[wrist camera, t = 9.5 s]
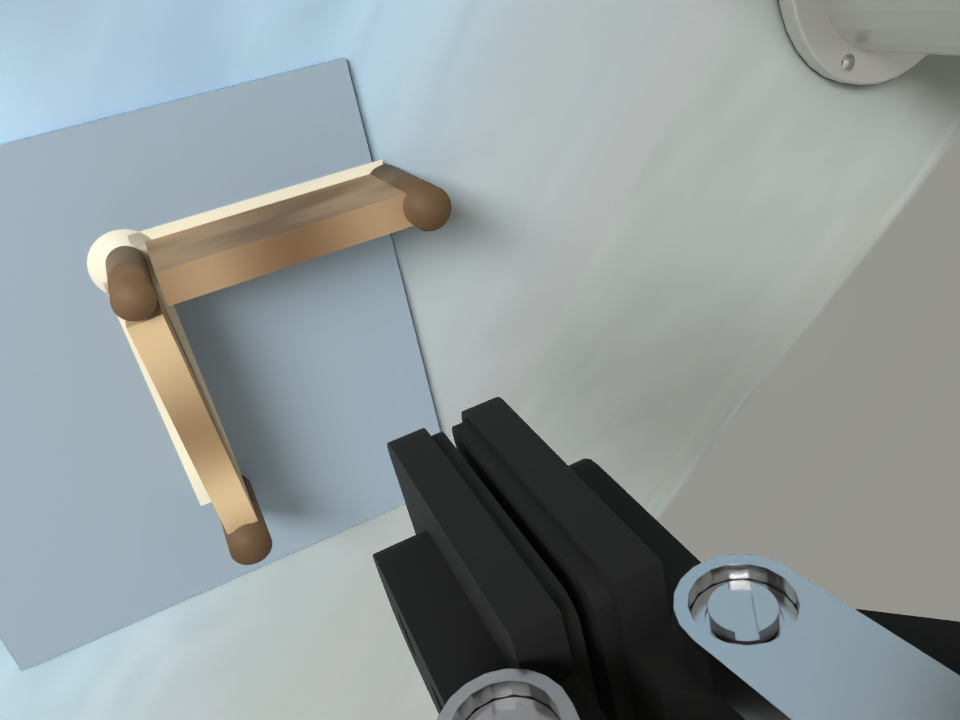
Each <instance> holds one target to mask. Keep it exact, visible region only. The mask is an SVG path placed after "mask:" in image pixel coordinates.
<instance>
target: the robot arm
mask: <svg viewBox="0 0 960 720" xmlns="http://www.w3.org/2000/svg"><path fill="white" fill-rule="evenodd" d="M779 4H780V9H781V13H782V16H783V20H784V23H785V27H786V30H787V32H788V34H789V36H790V38H791V40H792V42H793V44H794V46H795V48H796V50H797V51H798V53H799V54H800V55H801V56H802V58H803V59H804V60H805V61H806V63H807V64H808V65H809V66H810V67H811V68H813V69H814V70H815V71H817V72H818V73H819V74H821V75H822V76H823V77H826V78H829V79H831V80H834V81H837V82H839V83H849V84H858V85H866V84H879V83H882V82H885V81H888V80H891V79H894V78H896V77H898V76H899V75H901V74H903V73H905V72H906V71H908V70H910V69H911V68H913V67H914V66H915V65H916V64H917V63H919V62H920V61H921V60H922V59H923V58H924V57H925V56H927V55H928V54H930V55H952V56H960V0H779ZM462 422H463V423H460V424H458V425H456V426H453V427H452V432H453V437H454V440H455V444H456V447H457V449H456V448H455V446H454V445H453V444H452V442H451V441H450V440H449V439H448V437H447V436H446V435H445V434H444V433H443V432H439V433H437V434H434V435H432V436H431V435H430V434H429V432H428V431H427V430H426V429H425V428H422V429H419V430H417V431H414V432H412V433H410V434H407V435H405V436H402V437H400V438H398V439H395V440H393V441H390V442H388V443H387V448H388V452H389V455H390V458H391V461H392V464H393V467H394V470H395V473H396V476H397V479H398V482H399V485H400V488H401V491H402V494H403V497H404V500H405V503H406V506H407V509H408V512H409V515H410V518H411V521H412V524H413V527H414V530H415V533H416V535H415V536H413V537H410V538H408V539H406V540H404V541H402V542H399V543H397V544H395V545H393V546H391V547H388V548H386V549H384V550H382V551H380V552H377V553H375V554H373V558H374V561H375V564H376V567H377V569H378V572H379V575H380V578H381V580H382V583H383V586H384V588H385V591H386V594H387V596H388V599H389V601H390V604H391V607H392V609H393V612H394V614H395V617H396V619H397V621H398V624H399V626H400V629H401V631H402V633H403V636H404V638H405V640H406V643H407V645H408V647H409V650H410V652H411V654H412V656H413V659H414V661H415V663H416V665H417V667H418V669H419V672H420V674H421V676H422V678H423V680H424V682H425V685H426V687H427V689H428V691H429V693H430V696H431V698H432V700H433V702H434V704H435V706H436V709H437V711H438V713H439V715H438V718H437V720H960V622H957V621H949V620H941V619H933V618H925V617H916V616H908V615H900V614H892V613H884V612H876V611H868V610H859V609H854V608H852V607H851V606H849V605H847V604H846V603H844V602H843V601H841V600H839V599H838V598H836V597H835V596H833V595H832V594H830V593H828V592H827V591H825V590H824V589H822V588H821V587H819V586H817V585H816V584H814V583H813V582H811V581H810V580H808V579H806V578H805V577H803V576H802V575H800V574H798V573H797V572H795V571H794V570H792V569H791V568H789V567H787V566H785V565H782V564H780V563H778V562H776V561H774V560H772V559H769V558H764V557H759V556H755V555H751V554H750V555H749V554H745V555H743V554H742V555H741V554H731V555H730V554H729V555H725V556H720V557H715V558H711V559H708V560H706V561H704V562H703V563H701V562H700V561H699V560H698V559H697V558H696V557H694V556H693V555H692V554H691V553H690V552H689V551H688V550H687V549H686V548H685V547H684V546H683V545H682V544H681V543H680V542H679V541H678V540H677V539H676V538H674V537H673V536H672V535H671V534H670V533H669V532H668V531H667V530H666V529H665V528H664V527H663V526H662V525H661V524H660V523H659V522H658V521H657V520H655V519H654V518H653V517H652V516H651V515H650V514H649V513H648V512H647V511H646V510H645V509H644V508H643V507H642V506H641V505H640V504H639V503H638V502H637V501H635V500H634V499H633V498H632V497H631V496H630V495H629V494H628V493H627V492H626V491H625V490H624V489H623V488H622V487H621V486H620V485H619V484H618V483H616V482H615V481H614V480H613V479H612V478H611V477H610V476H609V475H608V474H607V473H606V472H605V471H604V470H603V469H602V468H601V467H600V466H599V465H597V464H596V463H595V462H593V461H592V460H591V459H583V460H580V461H578V462H576V463H574V464H572V465H569V466H568V465H567V464H566V463H565V462H564V461H563V460H562V459H561V458H560V457H559V456H558V455H557V454H556V453H555V452H554V451H553V450H552V449H551V448H550V447H549V446H548V445H547V444H546V443H545V442H544V441H543V440H542V439H541V438H540V437H539V436H538V435H537V434H536V433H535V432H534V431H533V430H532V429H531V428H530V427H529V426H528V425H527V424H526V423H525V422H524V421H523V420H522V419H521V418H520V417H519V416H518V415H517V414H516V413H515V412H514V411H513V410H512V409H511V408H510V407H509V405H508V404H507V403H506V402H505V401H504V400H503V399H501V398H500V397H496V398H493V399H491V400H488V401H486V402H484V403H481V404H479V405H477V406H474V407H472V408H469V409H467V410H465V411H462Z"/></svg>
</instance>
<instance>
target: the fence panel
mask: <svg viewBox="0 0 960 720" xmlns="http://www.w3.org/2000/svg"><path fill="white" fill-rule="evenodd" d="M153 285H154V283H153ZM154 289H155V292H156V296H157V306H156V309H155V311H154V312H153V313H152V314H151V315H150V316H149V317H148V318H146V319H144V320H141V321H134V322H133V321H126V320H125V323H126V328H127V330H128V333H129V335H130V337H131V339H132V341H133V343H134V345H135V347H136V349H137V351H138V353H139V355H140V357H141V359H142V361H143V363H144V365H145V367H146V369H147V371H148V373H149V375H150V377H151V379H152V381H153V383H154V385H155V388H156V390H157V392H158V394H159V396H160V398H161V400H162V402H163V404H164V406H165V408H166V410H167V412H168V414H169V416H170V418H171V420H172V422H173V424H174V426H175V428H176V430H177V432H178V434H179V436H180V438H181V441H182V443H183V445H184V447H185V449H186V451H187V453H188V455H189V457H190V459H191V461H192V463H193V465H194V467H195V469H196V471H197V473H198V475H199V477H200V479H201V481H202V483H203V485H204V487H205V489H206V491H207V493H208V496H209V498H210V500H211V502H212V504H213V506H214V508H215V510H216V512H217V514H218V516H219V518H220V521H221V524H222V528H223V531H224V534H225V538H226V541H227V545H228V548H229V552H230V555H231V557H232V559H233V560H234V561H235V562H237V563H239V564H242V565H252V564H256V563H258V562H260V561H262V560H263V559H265V558H266V557H267V556H268V554H269V553H270V551H271V549H272V539H271V536H270V533H269V530H268V528H267V525H266V522H265V520H264V517H263V514H262V512H261V509H260V506H259V504H258V501H257V498H256V496H255V493H254V490H253V488H252V485H251V483H250V481H249V480H248V478H246V477H245V476H243V475H241V473H240V470H239V468H238V466H237V464H236V462H235V459H234V457H233V455H232V453H231V451H230V448H229V446H228V444H227V442H226V440H225V438H224V435H223V433H222V431H221V429H220V427H219V424H218V422H217V420H216V418H215V416H214V414H213V411H212V409H211V407H210V405H209V403H208V400H207V398H206V396H205V394H204V392H203V390H202V387H201V385H200V383H199V381H198V379H197V377H196V374H195V372H194V370H193V368H192V366H191V363H190V361H189V359H188V357H187V355H186V353H185V350H184V348H183V346H182V344H181V342H180V339H179V337H178V335H177V333H176V331H175V329H174V326H173V324H172V322H171V320H170V318H169V315H168V313H167V311H166V309H165V307H164V305H163V302H162V300H161V298H160V296H159V294H158V291H157V289H156V287H155V285H154Z"/></svg>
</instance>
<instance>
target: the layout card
mask: <svg viewBox="0 0 960 720" xmlns="http://www.w3.org/2000/svg"><path fill="white" fill-rule="evenodd" d="M380 165H383V162H382V160H378V161H375V162H372V160H371V156H370V152H369V148H368V144H367V140H366V136H365V132H364V128H363V125H362V121H361V117H360V113H359V109H358V105H357V101H356V97H355V93H354V89H353V85H352V81H351V77H350V73H349V69H348V65H347V61H346V58H340V59H336V60H332V61H328V62H324V63H320V64H316V65H312V66H309V67H305V68H301V69H297V70H293V71H289V72H285V73H281V74H277V75H273V76H269V77H265V78H261V79H257V80H253V81H249V82H245V83H242V84H238V85H234V86H230V87H226V88H222V89H218V90H214V91H210V92H206V93H202V94H198V95H194V96H190V97H186V98H182V99H178V100H175V101H171V102H167V103H163V104H159V105H155V106H151V107H147V108H143V109H139V110H135V111H131V112H127V113H123V114H119V115H115V116H111V117H107V118H104V119H100V120H96V121H92V122H88V123H84V124H80V125H76V126H72V127H68V128H64V129H60V130H56V131H52V132H48V133H44V134H40V135H37V136H33V137H29V138H25V139H21V140H17V141H13V142H9V143H5V144H1V145H0V639H1V640H2V642H3V643H4V645H5V647H6V648H7V650H8V651H9V653H10V654H11V656H12V657H13V659H14V660H15V662H16V663H17V665H18V667H19V668H20V670H21V671H24V670H26V669H28V668H30V667H33V666H35V665H37V664H40V663H42V662H44V661H46V660H49V659H51V658H53V657H56V656H58V655H60V654H62V653H65V652H67V651H69V650H71V649H74V648H76V647H78V646H81V645H83V644H85V643H87V642H90V641H92V640H94V639H97V638H99V637H101V636H103V635H106V634H108V633H110V632H113V631H115V630H117V629H119V628H122V627H124V626H126V625H129V624H131V623H133V622H135V621H138V620H140V619H142V618H145V617H147V616H149V615H151V614H154V613H156V612H158V611H161V610H163V609H165V608H167V607H170V606H172V605H174V604H177V603H179V602H181V601H183V600H186V599H188V598H190V597H193V596H195V595H197V594H199V593H202V592H204V591H206V590H209V589H211V588H213V587H215V586H218V585H220V584H222V583H225V582H227V581H229V580H231V579H234V578H236V577H238V576H241V575H243V574H245V573H247V572H250V571H252V570H254V569H257V568H259V567H261V566H263V565H266V564H268V563H270V562H273V561H275V560H277V559H279V558H282V557H284V556H286V555H289V554H291V553H293V552H295V551H298V550H300V549H302V548H305V547H307V546H309V545H311V544H314V543H316V542H318V541H321V540H323V539H325V538H327V537H330V536H332V535H334V534H337V533H339V532H341V531H343V530H346V529H348V528H350V527H353V526H355V525H357V524H359V523H362V522H364V521H366V520H369V519H371V518H373V517H375V516H378V515H380V514H382V513H385V512H387V511H389V510H391V509H394V508H396V507H398V506H401V505H403V504H405V500H404V497H403V494H402V491H401V488H400V485H399V482H398V479H397V476H396V473H395V470H394V467H393V464H392V461H391V458H390V455H389V452H388V448H387V443H388V442H390V441H393V440H395V439H398V438H400V437H402V436H405V435H407V434H410V433H412V432H414V431H417V430H419V429H422V428H425V429H426V430H427V431H428V432H429V434H430V435H431V436H432V435H434V434H437V433H439V432H440V429H439V425H438V421H437V417H436V413H435V409H434V405H433V401H432V397H431V393H430V389H429V385H428V381H427V377H426V373H425V369H424V365H423V361H422V357H421V354H420V350H419V346H418V342H417V338H416V334H415V330H414V326H413V322H412V318H411V314H410V310H409V306H408V302H407V298H406V294H405V290H404V286H403V282H402V279H401V275H400V271H399V267H398V263H397V259H396V255H395V251H394V247H393V243H392V239H391V235H390V234H388V235H385V236H381V237H378V238H375V239H372V240H369V241H366V242H363V243H360V244H357V245H354V246H351V247H348V248H345V249H342V250H339V251H336V252H333V253H330V254H327V255H324V256H321V257H318V258H314V259H311V260H308V261H305V262H302V263H299V264H296V265H293V266H290V267H287V268H284V269H281V270H278V271H275V272H272V273H269V274H266V275H263V276H260V277H257V278H254V279H250V280H247V281H244V282H241V283H238V284H235V285H232V286H229V287H226V288H223V289H220V290H217V291H214V292H211V293H208V294H205V295H202V296H199V297H196V298H193V299H190V300H186V301H183V302H180V303H177V304H174V305H171V306H168V305H167V302H166V300H165V297H164V295H163V292H162V290H161V287H160V285H159V283H158V280H157V278H156V275H155V273H154V269H153V266H152V263H151V260H150V256H149V253H148V250H147V247H146V243H145V242H146V241H149V240H152V239H156V238H159V237H162V236H166V235H169V234H172V233H176V232H179V231H182V230H186V229H189V228H192V227H195V226H199V225H202V224H205V223H209V222H212V221H215V220H219V219H222V218H225V217H229V216H232V215H235V214H239V213H242V212H245V211H248V210H252V209H255V208H258V207H262V206H265V205H268V204H272V203H275V202H278V201H282V200H285V199H288V198H292V197H295V196H298V195H301V194H305V193H308V192H311V191H315V190H318V189H321V188H325V187H328V186H331V185H335V184H338V183H341V182H344V181H348V180H351V179H354V178H358V177H361V176H364V175H368V174H370V173H371V171H372V170H373V169H375V168H376V167H378V166H380ZM120 246H131V247H134V248H136V249H138V250H139V251H141V252H142V253H143V255H144V256H145V258H146V261H147V265H148V268H149V271H150V275H151V278H152V282H153V283H154V285H155V287H156V289H157V291H158V294H159V296H160V298H161V300H162V302H163V305H164V307H165V309H166V311H167V313H168V315H169V318H170V320H171V322H172V324H173V326H174V329H175V331H176V333H177V335H178V337H179V339H180V342H181V344H182V346H183V348H184V350H185V353H186V355H187V357H188V359H189V361H190V363H191V366H192V368H193V370H194V372H195V374H196V377H197V379H198V381H199V383H200V385H201V387H202V390H203V392H204V394H205V396H206V398H207V400H208V403H209V405H210V407H211V409H212V411H213V414H214V416H215V418H216V420H217V422H218V424H219V427H220V429H221V431H222V433H223V435H224V438H225V440H226V442H227V444H228V446H229V448H230V451H231V453H232V455H233V457H234V459H235V462H236V464H237V466H238V468H239V470H240V473H241V475H243V476H245V477H246V478H248V480H249V481H250V483H251V485H252V488H253V490H254V493H255V496H256V498H257V501H258V504H259V506H260V509H261V512H262V514H263V517H264V520H265V522H266V525H267V528H268V530H269V533H270V536H271V539H272V549H271V551H270V553H269V554H268V556H267V557H266V558H265V559H263V560H262V561H260V562H258V563H256V564H252V565H242V564H239V563H237V562H235V561H234V560H233V559H232V557H231V555H230V552H229V548H228V545H227V541H226V538H225V534H224V531H223V528H222V524H221V521H220V518H219V516H218V514H217V512H216V510H215V508H214V506H213V504H212V502H211V500H210V498H209V496H208V493H207V491H206V489H205V487H204V485H203V483H202V481H201V479H200V477H199V475H198V473H197V471H196V469H195V467H194V465H193V463H192V461H191V459H190V457H189V455H188V453H187V451H186V449H185V447H184V445H183V443H182V441H181V438H180V436H179V434H178V432H177V430H176V428H175V426H174V424H173V422H172V420H171V418H170V416H169V414H168V412H167V410H166V408H165V406H164V404H163V402H162V400H161V398H160V396H159V394H158V392H157V390H156V388H155V385H154V383H153V381H152V379H151V377H150V375H149V373H148V371H147V369H146V367H145V365H144V363H143V361H142V359H141V357H140V355H139V353H138V351H137V349H136V347H135V345H134V343H133V341H132V339H131V337H130V335H129V333H128V330H127V328H126V323H125V320H124V319H121V318H120V317H118V316H117V315H116V314H115V313H114V312H113V310H112V308H111V305H110V299H109V291H108V282H107V274H106V265H105V262H106V258H107V256H108V254H109V253H110V252H111V251H112V250H113V249H115V248H117V247H120Z"/></svg>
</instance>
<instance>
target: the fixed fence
mask: <svg viewBox="0 0 960 720" xmlns="http://www.w3.org/2000/svg"><path fill="white" fill-rule="evenodd" d="M450 212H451V202H450V199H449V197H448V195H447V194H446V192H445V191H444V190H442V189H441V188H439V187H436V186H434V185H432V184H430V183H428V182H426V181H424V180H422V179H419V178H417V177H415V176H413V175H411V174H409V173H407V172H405V171H402V170H400V169H398V168H396V167H394V166H392V165H388V164H383V165H380V166H378V167H376V168H375V169H373V170H372V171H371V173H370V174H368V175H364V176H361V177H358V178H354V179H351V180H348V181H344V182H341V183H338V184H335V185H331V186H328V187H325V188H321V189H318V190H315V191H311V192H308V193H305V194H301V195H298V196H295V197H292V198H288V199H285V200H282V201H278V202H275V203H272V204H268V205H265V206H262V207H258V208H255V209H252V210H248V211H245V212H242V213H239V214H235V215H232V216H229V217H225V218H222V219H219V220H215V221H212V222H209V223H205V224H202V225H199V226H195V227H192V228H189V229H186V230H182V231H179V232H176V233H172V234H169V235H166V236H162V237H159V238H156V239H152V240H149V241H146V242H145V243H146V247H147V250H148V253H149V256H150V260H151V263H152V266H153V269H154V273H155V275H156V278H157V280H158V283H159V285H160V287H161V290H162V292H163V295H164V297H165V300H166V302H167V305H168V306H171V305H174V304H177V303H180V302H183V301H186V300H190V299H193V298H196V297H199V296H202V295H205V294H208V293H211V292H214V291H217V290H220V289H223V288H226V287H229V286H232V285H235V284H238V283H241V282H244V281H247V280H250V279H254V278H257V277H260V276H263V275H266V274H269V273H272V272H275V271H278V270H281V269H284V268H287V267H290V266H293V265H296V264H299V263H302V262H305V261H308V260H311V259H314V258H318V257H321V256H324V255H327V254H330V253H333V252H336V251H339V250H342V249H345V248H348V247H351V246H354V245H357V244H360V243H363V242H366V241H369V240H372V239H375V238H378V237H381V236H385V235H388V234H391V233H394V232H397V231H400V230H403V229H406V228H409V227H412V226H416V227H417V228H419V229H421V230H423V231H434V230H437V229H439V228H440V227H442V226H443V225H444V224H445V223H446V221H447V220H448V218H449V216H450ZM105 265H106V274H107V282H108V291H109V299H110V305H111V308H112V310H113V312H114V313H115V314H116V315H117V316H118V317H120V318H121V319H124V320H126V321H133V322H134V321H141V320H144V319H146V318H148V317H149V316H150V315H151V314H152V313H153V312H154V311H155V309H156V306H157V296H156V292H155V289H154V285H153V282H152V278H151V275H150V271H149V268H148V265H147V261H146V258H145V256H144V255H143V253H142V252H141V251H139V250H138V249H136V248H134V247H131V246H120V247H117V248H115V249H113V250H112V251H111V252H110V253H109V254H108V256H107V258H106V262H105Z"/></svg>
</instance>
